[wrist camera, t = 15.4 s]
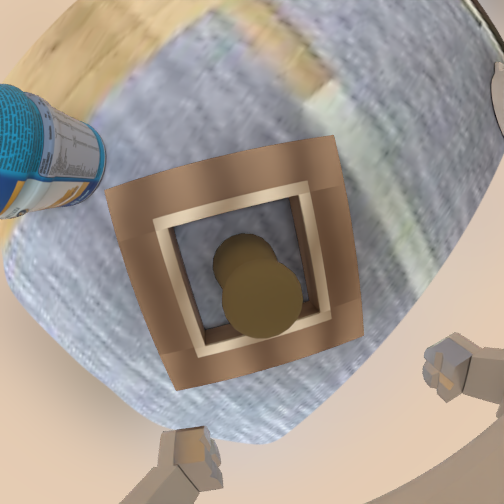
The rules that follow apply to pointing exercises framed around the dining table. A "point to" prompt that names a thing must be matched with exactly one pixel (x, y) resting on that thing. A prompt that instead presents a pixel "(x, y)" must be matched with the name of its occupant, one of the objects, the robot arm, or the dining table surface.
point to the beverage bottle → (44, 155)
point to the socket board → (224, 200)
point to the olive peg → (256, 287)
